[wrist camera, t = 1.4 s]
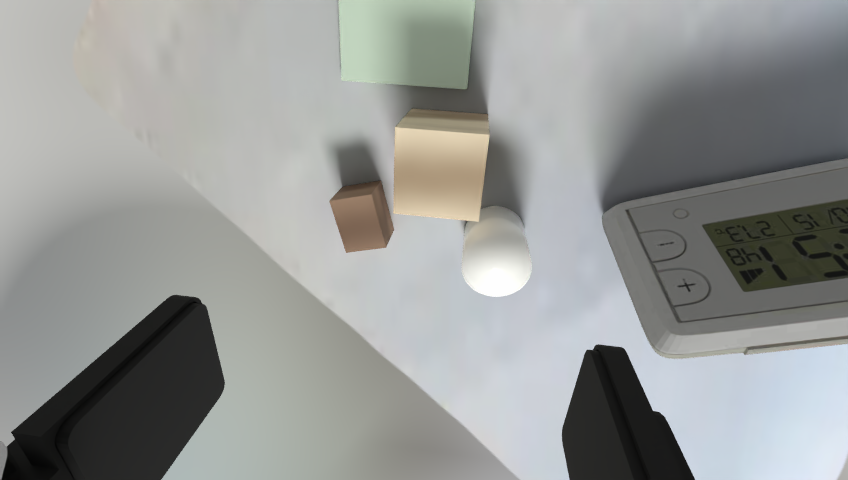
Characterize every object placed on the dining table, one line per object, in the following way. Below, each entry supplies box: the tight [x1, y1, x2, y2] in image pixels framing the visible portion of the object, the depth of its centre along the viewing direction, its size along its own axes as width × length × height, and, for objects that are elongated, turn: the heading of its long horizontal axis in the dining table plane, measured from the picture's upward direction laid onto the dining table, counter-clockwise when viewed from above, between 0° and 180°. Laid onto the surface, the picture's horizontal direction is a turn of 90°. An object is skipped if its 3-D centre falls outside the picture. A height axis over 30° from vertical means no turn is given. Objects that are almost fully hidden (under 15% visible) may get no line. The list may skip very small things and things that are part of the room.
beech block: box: [393, 108, 489, 222], centre depth 25 cm, size 5×5×6 cm
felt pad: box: [339, 0, 475, 89], centre depth 24 cm, size 8×8×1 cm
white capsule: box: [462, 206, 532, 297], centre depth 28 cm, size 4×4×5 cm
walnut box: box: [330, 181, 394, 253], centre depth 30 cm, size 4×3×3 cm
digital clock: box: [602, 158, 848, 359], centre depth 23 cm, size 16×9×11 cm, turn 94°
